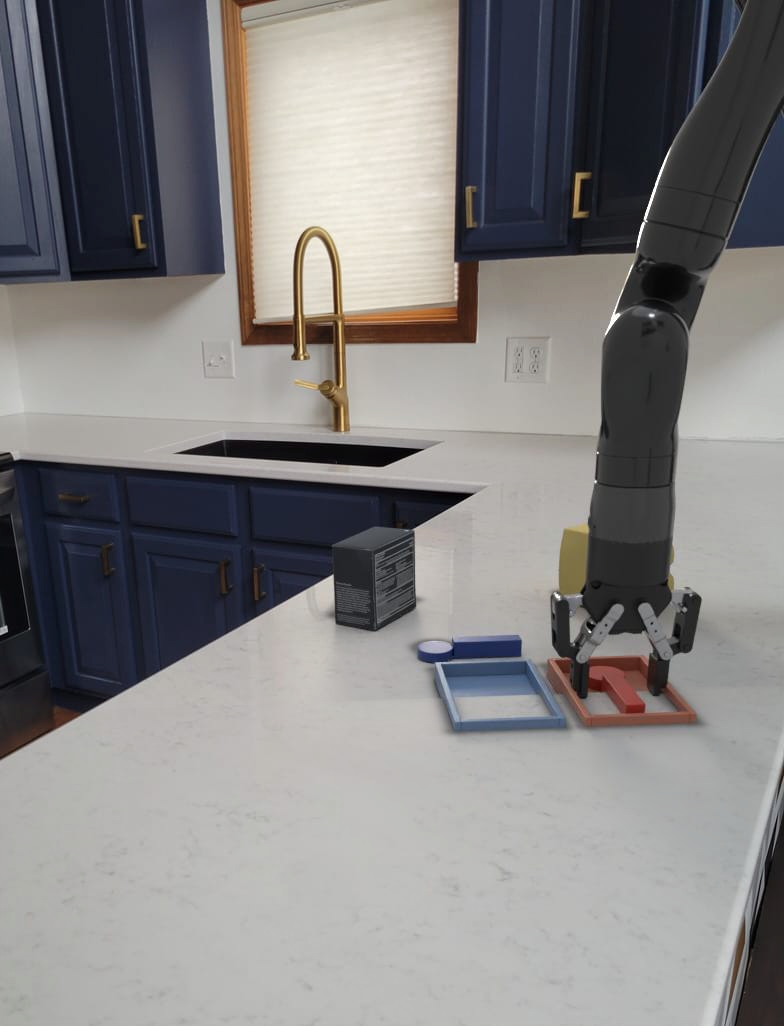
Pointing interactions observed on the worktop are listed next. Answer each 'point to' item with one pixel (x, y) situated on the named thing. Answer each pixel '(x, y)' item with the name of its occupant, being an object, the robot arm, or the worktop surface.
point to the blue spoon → (471, 648)
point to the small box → (374, 577)
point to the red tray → (635, 677)
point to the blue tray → (495, 691)
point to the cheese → (579, 560)
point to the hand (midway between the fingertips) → (617, 692)
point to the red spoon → (616, 688)
